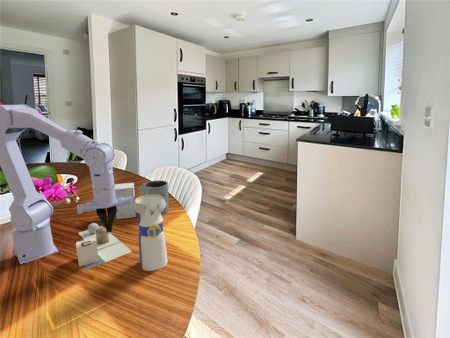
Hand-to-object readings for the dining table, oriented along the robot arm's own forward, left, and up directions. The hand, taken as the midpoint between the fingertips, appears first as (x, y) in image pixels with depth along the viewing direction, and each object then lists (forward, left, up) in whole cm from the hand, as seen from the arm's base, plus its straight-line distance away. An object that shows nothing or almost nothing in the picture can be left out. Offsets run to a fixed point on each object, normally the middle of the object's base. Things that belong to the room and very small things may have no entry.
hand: (109, 230), depth 80 cm
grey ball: (+1, +17, -7) cm, 18 cm away
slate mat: (-6, 0, -7) cm, 9 cm away
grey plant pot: (+27, +19, -8) cm, 34 cm away
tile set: (+1, +8, -7) cm, 11 cm away
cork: (+1, +8, -7) cm, 11 cm away
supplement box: (+16, +24, -8) cm, 30 cm away
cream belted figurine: (+7, -14, -8) cm, 17 cm away
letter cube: (-6, +1, -7) cm, 9 cm away
